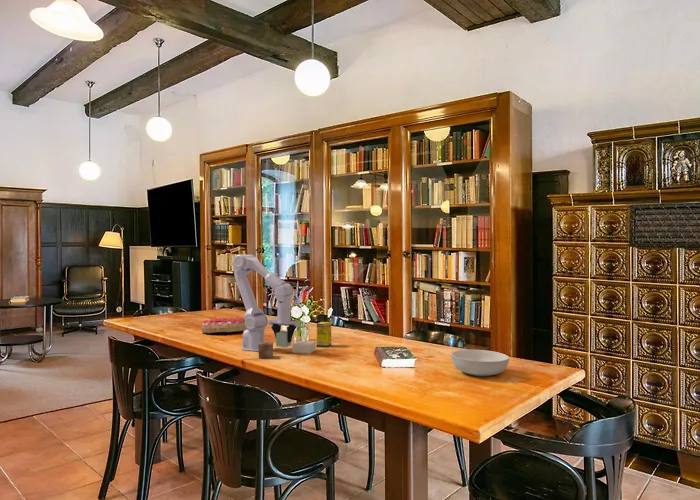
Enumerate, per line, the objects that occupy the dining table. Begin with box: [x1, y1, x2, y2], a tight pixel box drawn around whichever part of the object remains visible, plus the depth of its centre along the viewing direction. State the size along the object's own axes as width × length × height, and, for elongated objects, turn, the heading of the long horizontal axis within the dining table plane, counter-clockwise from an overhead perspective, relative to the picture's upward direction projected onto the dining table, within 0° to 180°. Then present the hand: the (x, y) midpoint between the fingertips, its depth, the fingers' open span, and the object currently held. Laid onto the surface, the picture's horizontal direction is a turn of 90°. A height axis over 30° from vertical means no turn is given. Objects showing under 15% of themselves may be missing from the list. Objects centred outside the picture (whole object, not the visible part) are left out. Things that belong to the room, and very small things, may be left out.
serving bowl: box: [450, 349, 510, 377], centre depth 186 cm, size 21×21×7 cm
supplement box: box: [316, 321, 332, 348], centre depth 237 cm, size 6×6×11 cm
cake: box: [200, 316, 248, 335], centre depth 277 cm, size 25×25×8 cm
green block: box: [275, 330, 292, 348], centre depth 222 cm, size 5×5×6 cm
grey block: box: [292, 340, 316, 354], centre depth 225 cm, size 8×8×4 cm
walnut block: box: [258, 341, 274, 360], centre depth 213 cm, size 5×5×6 cm
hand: (283, 341), depth 222 cm, fingers closed on green block, 5 cm apart
